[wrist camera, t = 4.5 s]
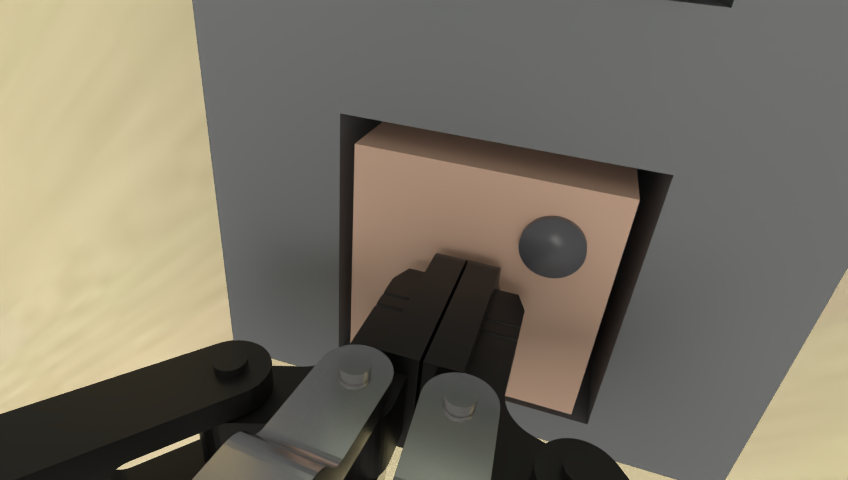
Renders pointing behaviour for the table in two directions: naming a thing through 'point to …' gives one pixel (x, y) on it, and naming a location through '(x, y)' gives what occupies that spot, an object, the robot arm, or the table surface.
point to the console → (568, 135)
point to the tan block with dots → (497, 237)
